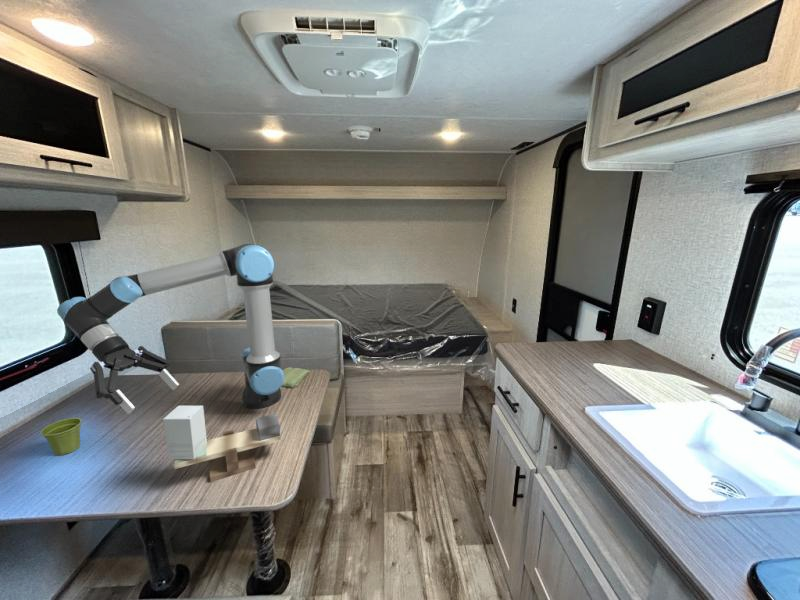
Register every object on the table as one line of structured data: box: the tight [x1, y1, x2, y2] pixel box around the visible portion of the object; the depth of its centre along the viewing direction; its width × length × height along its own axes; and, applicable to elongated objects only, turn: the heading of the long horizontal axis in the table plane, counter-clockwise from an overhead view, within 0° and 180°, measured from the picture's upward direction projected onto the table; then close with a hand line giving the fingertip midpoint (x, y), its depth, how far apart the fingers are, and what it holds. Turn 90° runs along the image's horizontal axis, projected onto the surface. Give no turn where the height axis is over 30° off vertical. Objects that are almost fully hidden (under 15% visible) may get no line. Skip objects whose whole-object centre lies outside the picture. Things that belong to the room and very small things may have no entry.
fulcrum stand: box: [208, 429, 256, 483], centre depth 104 cm, size 12×11×8 cm
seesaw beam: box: [173, 413, 282, 470], centre depth 103 cm, size 28×8×6 cm, turn 120°
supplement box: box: [162, 405, 208, 460], centre depth 97 cm, size 7×7×13 cm
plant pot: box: [40, 417, 83, 456], centre depth 110 cm, size 9×9×9 cm
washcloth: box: [280, 366, 311, 389], centre depth 161 cm, size 13×18×3 cm
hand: (155, 398), depth 97 cm, fingers open, 13 cm apart
